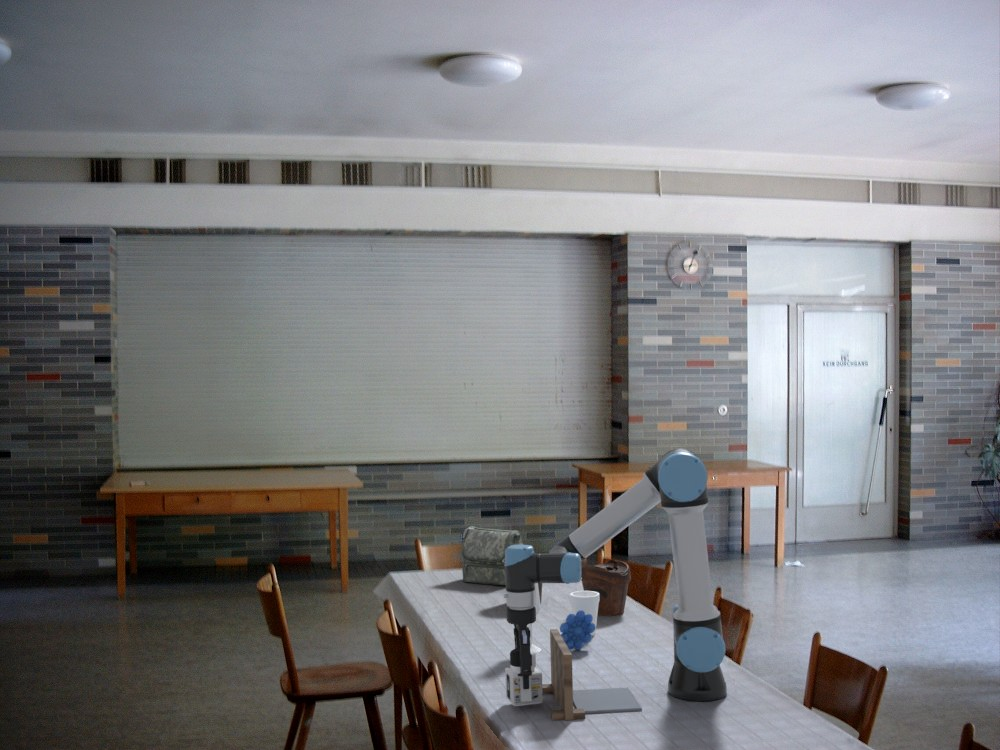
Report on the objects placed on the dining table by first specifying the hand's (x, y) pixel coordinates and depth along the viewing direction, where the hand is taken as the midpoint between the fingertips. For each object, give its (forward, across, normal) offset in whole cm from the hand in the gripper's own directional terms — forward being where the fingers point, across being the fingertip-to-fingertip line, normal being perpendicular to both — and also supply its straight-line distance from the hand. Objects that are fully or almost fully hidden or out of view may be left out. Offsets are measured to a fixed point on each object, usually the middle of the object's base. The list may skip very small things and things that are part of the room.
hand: (524, 695), depth 249 cm
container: (+2, 0, 0) cm, 2 cm away
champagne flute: (+3, -49, +8) cm, 50 cm away
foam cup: (+3, -65, +27) cm, 70 cm away
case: (+3, -92, +40) cm, 101 cm away
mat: (+3, 0, +21) cm, 21 cm away
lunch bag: (+3, -151, +4) cm, 151 cm away
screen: (+3, 0, +10) cm, 10 cm away
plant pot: (+3, -110, +13) cm, 111 cm away
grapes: (+3, -48, +22) cm, 53 cm away
